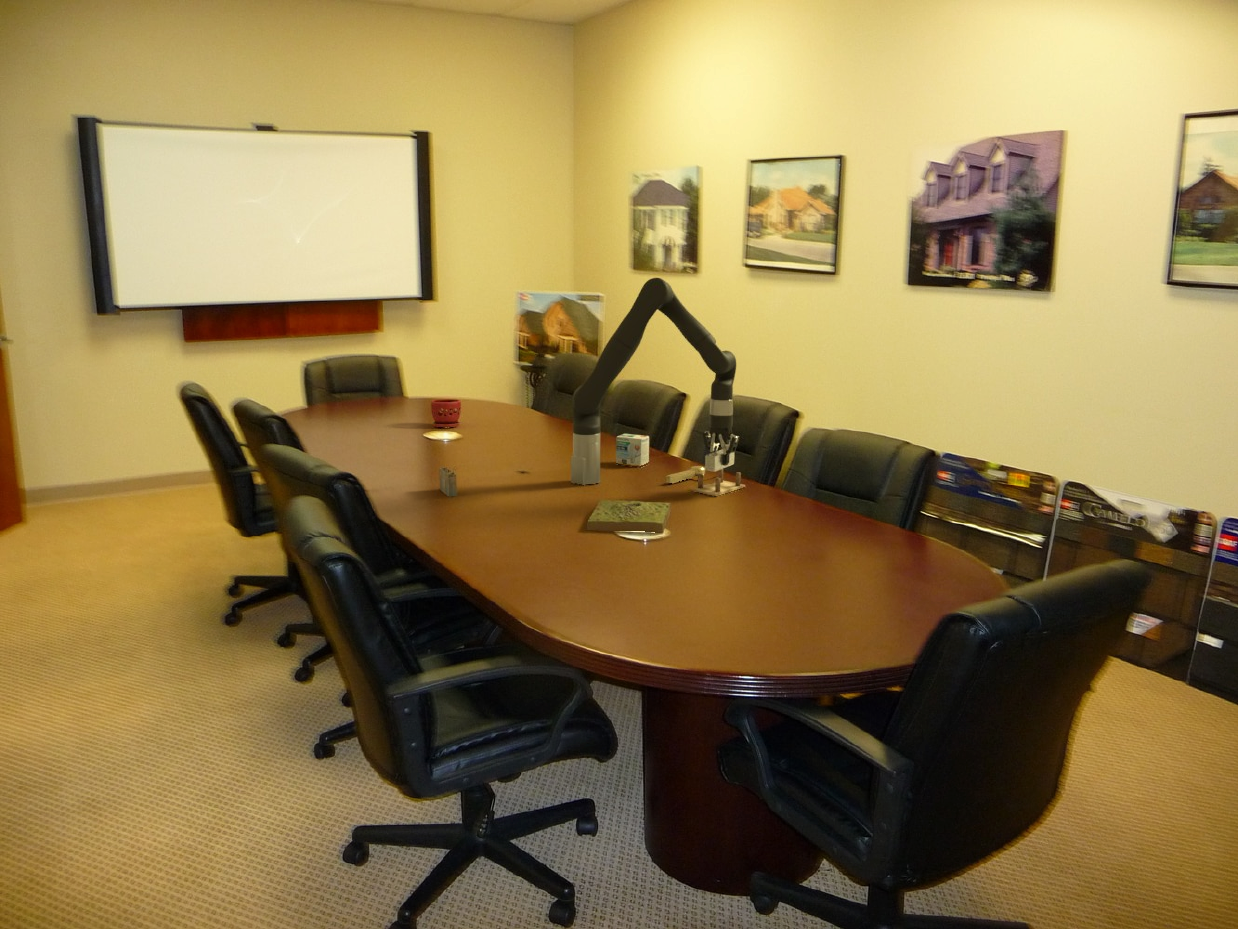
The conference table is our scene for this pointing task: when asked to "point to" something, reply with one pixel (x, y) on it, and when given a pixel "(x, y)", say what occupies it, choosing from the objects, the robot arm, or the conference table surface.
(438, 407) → the plant pot
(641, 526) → the miniature landscape model
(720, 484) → the peg rack
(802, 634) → the conference table surface
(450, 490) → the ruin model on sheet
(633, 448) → the light bulb box
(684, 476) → the beige long bar
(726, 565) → the conference table surface
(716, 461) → the grey rectangular block
